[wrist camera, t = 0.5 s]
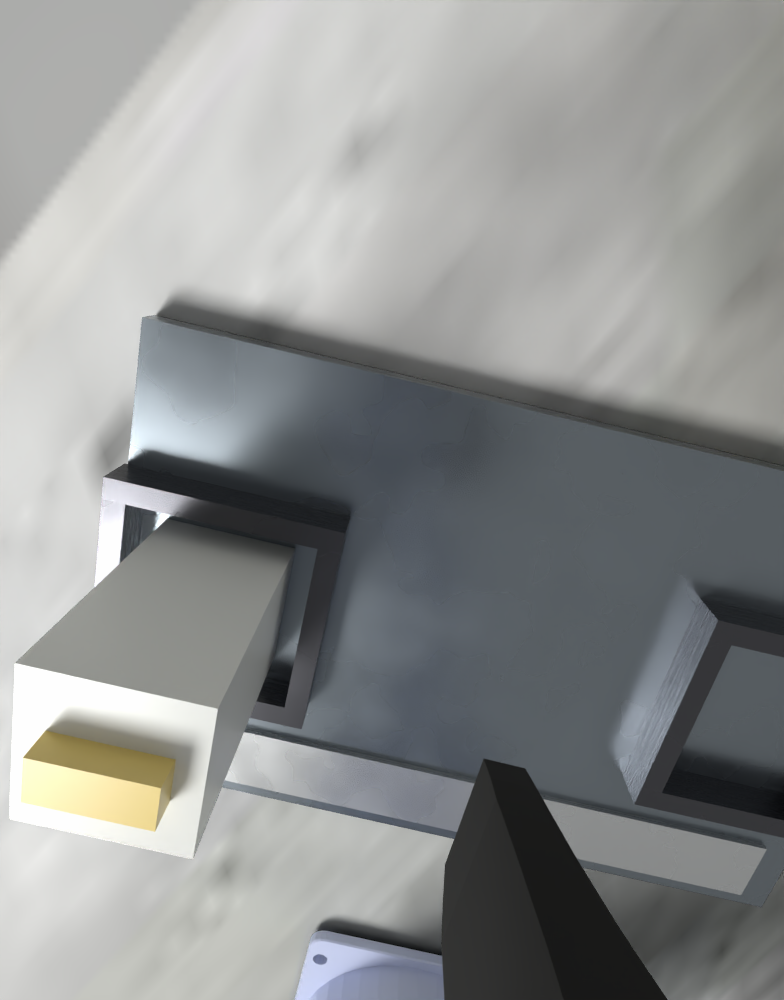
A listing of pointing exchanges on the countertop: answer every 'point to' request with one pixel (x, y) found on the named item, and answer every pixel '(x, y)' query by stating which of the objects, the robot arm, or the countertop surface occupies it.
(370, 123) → the countertop surface
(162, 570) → the white rectangular block
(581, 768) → the panel
